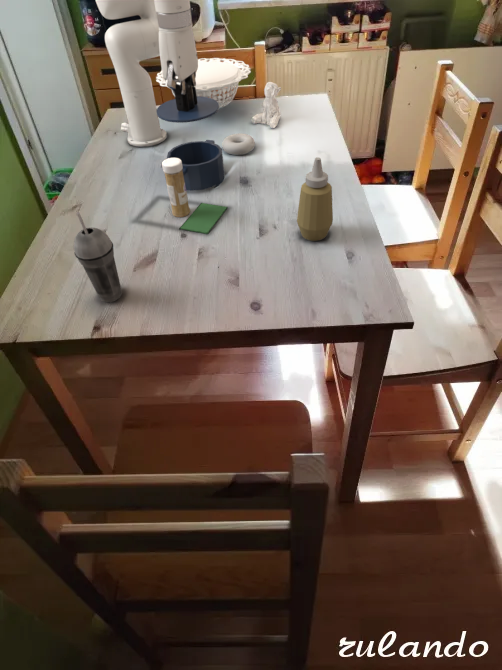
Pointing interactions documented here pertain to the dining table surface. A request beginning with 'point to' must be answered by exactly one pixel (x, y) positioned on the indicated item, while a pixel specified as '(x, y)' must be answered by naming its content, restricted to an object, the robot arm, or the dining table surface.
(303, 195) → the squeeze bottle
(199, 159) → the pot
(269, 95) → the seated beast figurine
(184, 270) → the dining table surface
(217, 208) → the green flat rectangular board
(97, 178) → the dining table surface
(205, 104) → the lid
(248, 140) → the donut
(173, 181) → the sprinkles bottle
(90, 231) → the beverage cup
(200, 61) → the white wicker basket
